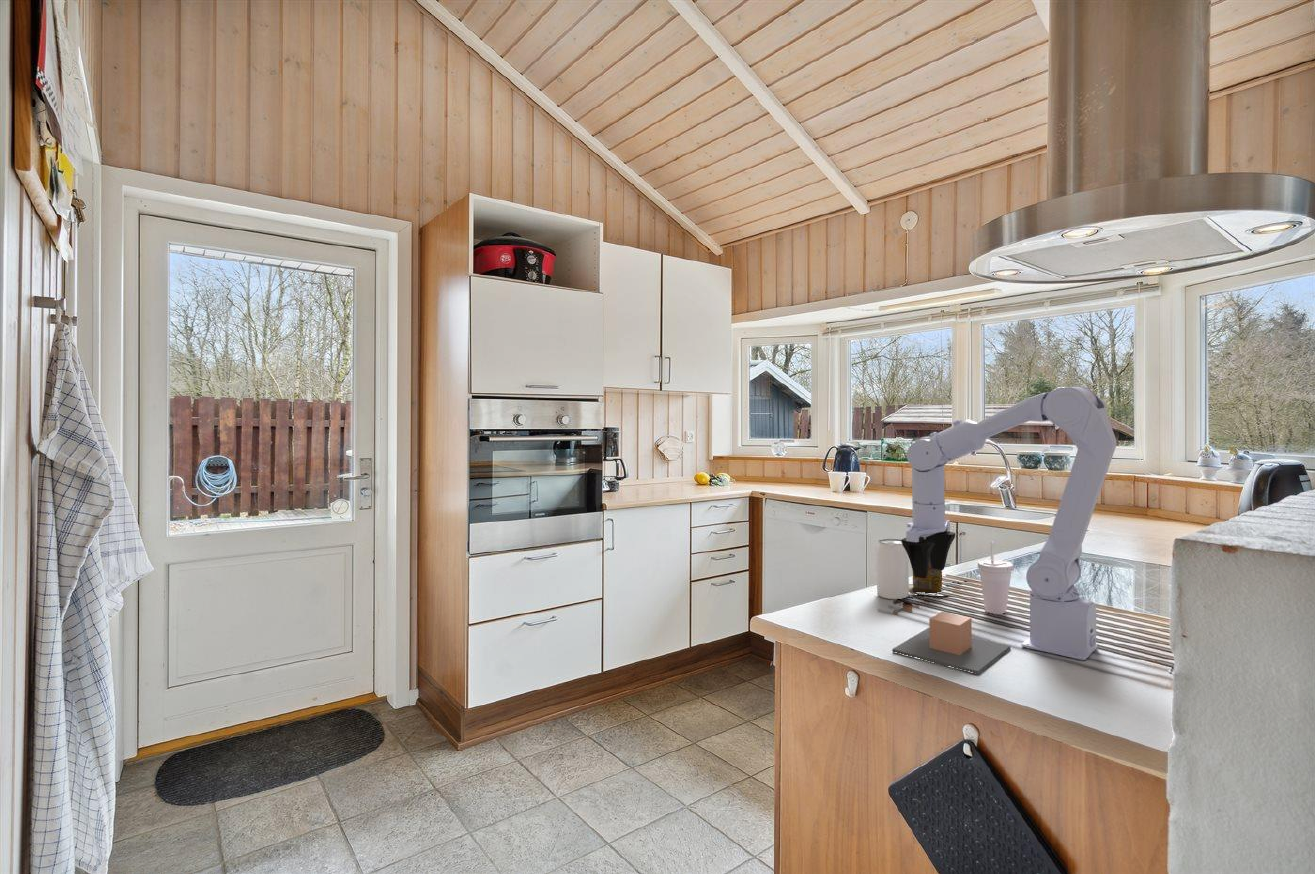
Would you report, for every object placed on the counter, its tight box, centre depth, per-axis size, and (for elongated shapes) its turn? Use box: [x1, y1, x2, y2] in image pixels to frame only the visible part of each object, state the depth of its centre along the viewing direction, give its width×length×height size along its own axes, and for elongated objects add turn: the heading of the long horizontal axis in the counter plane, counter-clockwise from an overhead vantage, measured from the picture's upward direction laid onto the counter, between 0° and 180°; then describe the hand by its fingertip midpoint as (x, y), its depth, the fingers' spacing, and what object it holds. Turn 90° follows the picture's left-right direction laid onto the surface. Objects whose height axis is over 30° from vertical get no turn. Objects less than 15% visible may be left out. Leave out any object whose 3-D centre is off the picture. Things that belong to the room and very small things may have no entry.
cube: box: [928, 611, 973, 655], centre depth 114 cm, size 5×5×5 cm
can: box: [876, 538, 910, 601], centre depth 145 cm, size 6×6×12 cm
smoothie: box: [977, 540, 1015, 615], centre depth 133 cm, size 6×6×14 cm
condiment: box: [909, 538, 943, 596], centre depth 148 cm, size 7×8×12 cm
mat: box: [891, 627, 1011, 675], centre depth 114 cm, size 14×14×1 cm
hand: (929, 573), depth 128 cm, fingers open, 7 cm apart
